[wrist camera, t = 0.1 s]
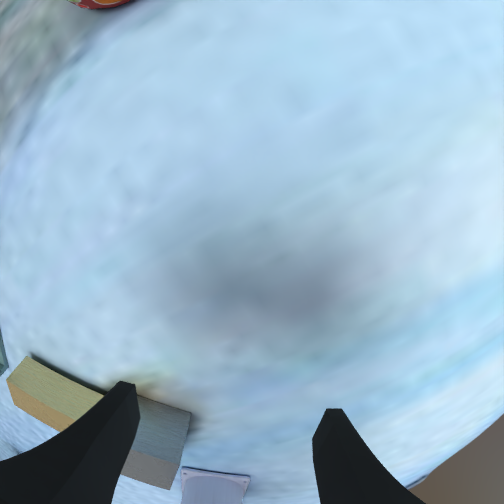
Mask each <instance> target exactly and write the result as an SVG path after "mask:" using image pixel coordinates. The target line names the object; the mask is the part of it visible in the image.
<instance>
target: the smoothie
mask: <svg viewBox="0 0 504 504" xmlns="http://www.w3.org/2000/svg"><path fill="white" fill-rule="evenodd" d="M67 1H69V2H71V3H73V4H75V5H77V6H79V7H81V8H87V9H97V8H111V7H116V6H119V5H121V4H124V3H127V2H128V1H130V0H67Z"/></svg>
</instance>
